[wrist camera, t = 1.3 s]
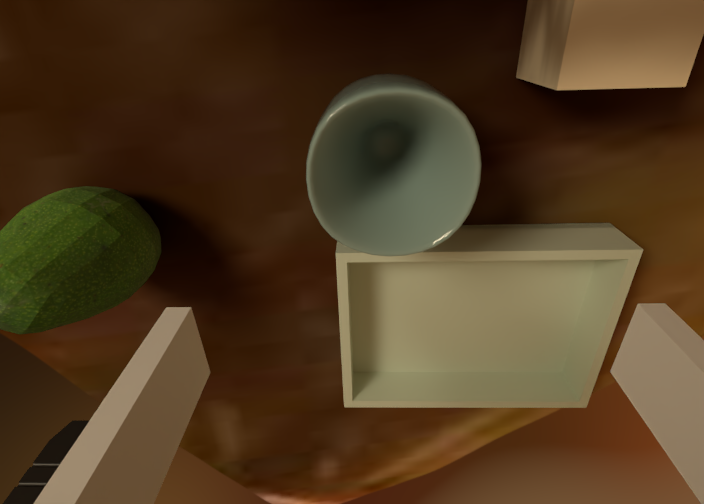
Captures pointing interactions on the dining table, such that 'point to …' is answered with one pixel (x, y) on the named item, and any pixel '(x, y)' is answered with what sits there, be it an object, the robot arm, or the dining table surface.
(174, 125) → the dining table surface
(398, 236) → the cup
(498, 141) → the dining table surface
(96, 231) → the avocado
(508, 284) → the tray
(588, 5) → the beech block
